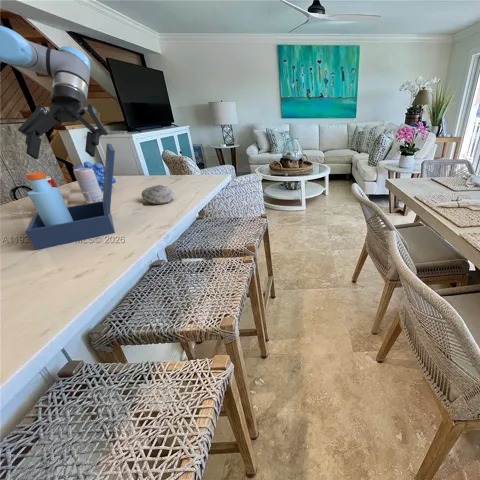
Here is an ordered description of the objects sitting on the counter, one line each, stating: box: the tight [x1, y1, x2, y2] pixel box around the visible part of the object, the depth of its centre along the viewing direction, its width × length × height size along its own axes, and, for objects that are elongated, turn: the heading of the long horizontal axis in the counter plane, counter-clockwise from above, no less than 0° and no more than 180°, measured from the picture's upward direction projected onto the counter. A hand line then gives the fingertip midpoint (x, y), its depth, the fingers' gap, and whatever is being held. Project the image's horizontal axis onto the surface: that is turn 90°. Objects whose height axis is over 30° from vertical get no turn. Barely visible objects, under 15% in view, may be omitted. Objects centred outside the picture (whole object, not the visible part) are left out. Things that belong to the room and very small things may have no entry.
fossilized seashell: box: [141, 184, 176, 205], centre depth 97 cm, size 11×11×7 cm
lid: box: [102, 143, 116, 214], centre depth 72 cm, size 16×16×1 cm
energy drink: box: [73, 168, 103, 204], centre depth 94 cm, size 5×5×12 cm
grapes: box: [76, 161, 117, 192], centre depth 106 cm, size 12×7×12 cm, turn 119°
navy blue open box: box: [25, 201, 116, 251], centre depth 72 cm, size 16×16×6 cm
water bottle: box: [24, 171, 73, 227], centre depth 67 cm, size 6×6×16 cm
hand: (61, 155), depth 72 cm, fingers open, 13 cm apart
